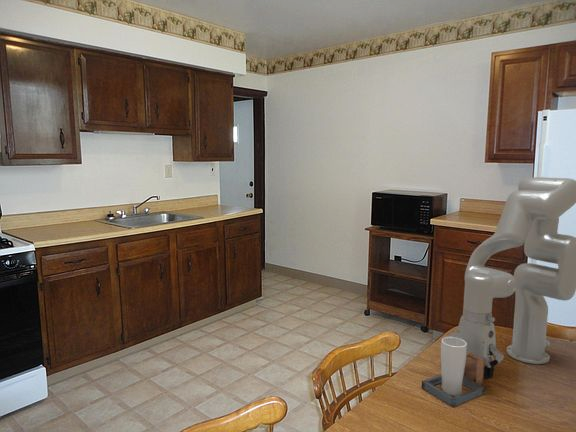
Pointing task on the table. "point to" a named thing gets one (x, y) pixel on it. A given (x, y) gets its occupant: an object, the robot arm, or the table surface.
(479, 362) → the frame
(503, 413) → the table surface
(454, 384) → the drinking glass
